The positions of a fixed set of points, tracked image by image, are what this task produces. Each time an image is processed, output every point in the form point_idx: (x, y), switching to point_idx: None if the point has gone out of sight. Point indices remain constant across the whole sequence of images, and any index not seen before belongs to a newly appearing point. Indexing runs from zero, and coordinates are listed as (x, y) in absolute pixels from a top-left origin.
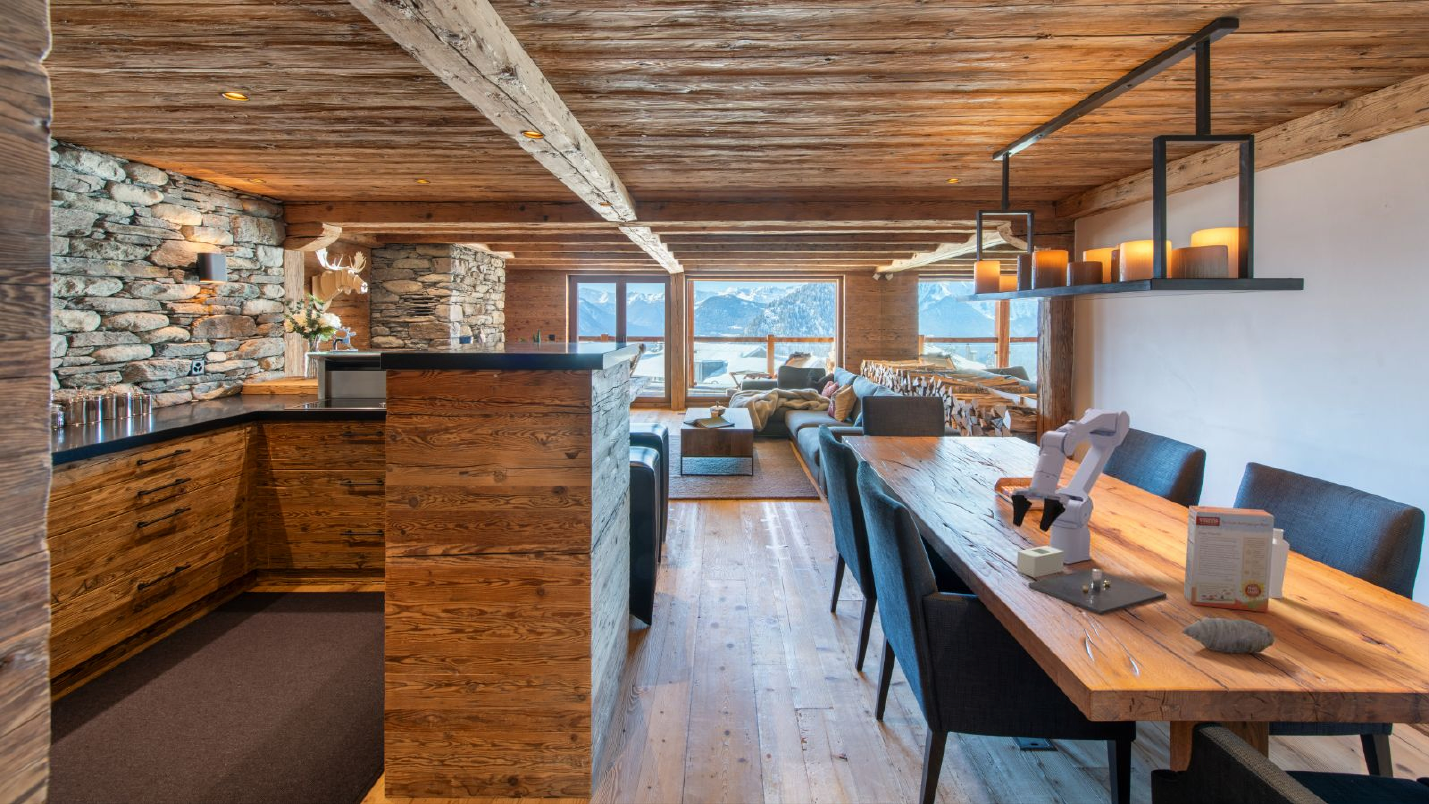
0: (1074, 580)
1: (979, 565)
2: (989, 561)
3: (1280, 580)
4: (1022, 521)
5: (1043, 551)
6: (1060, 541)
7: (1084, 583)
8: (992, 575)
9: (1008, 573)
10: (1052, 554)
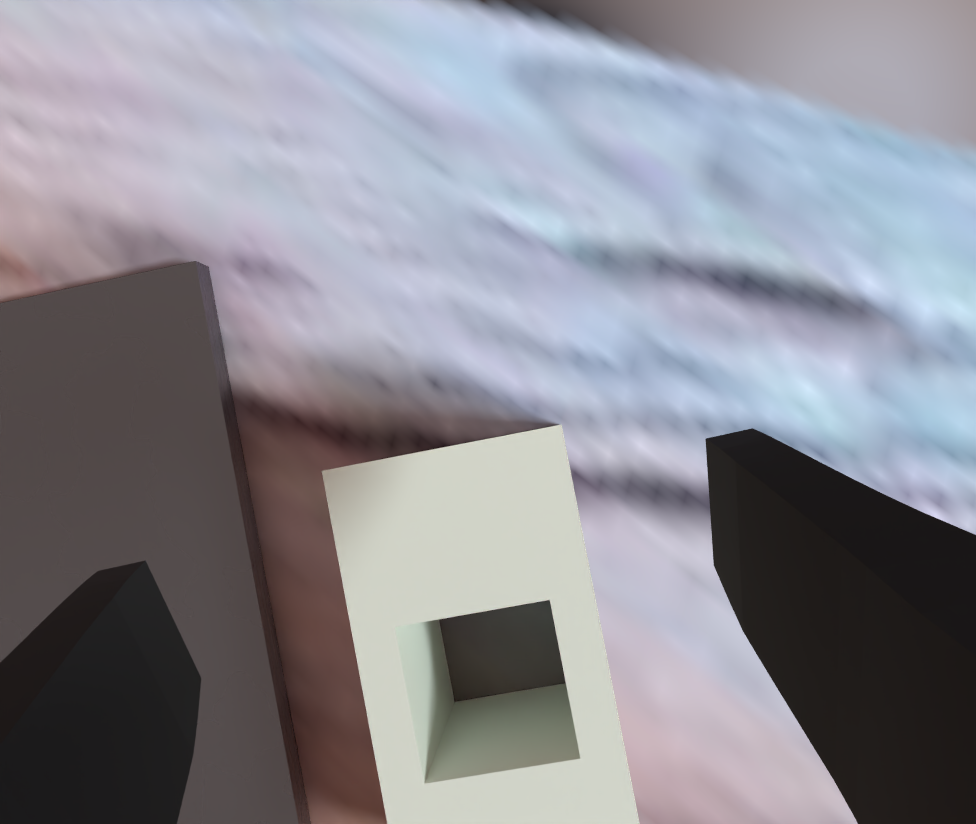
0: None
1: (797, 180)
2: (877, 347)
3: None
4: (770, 669)
5: (529, 759)
6: None
7: None
8: (523, 135)
9: (529, 309)
10: (379, 759)
